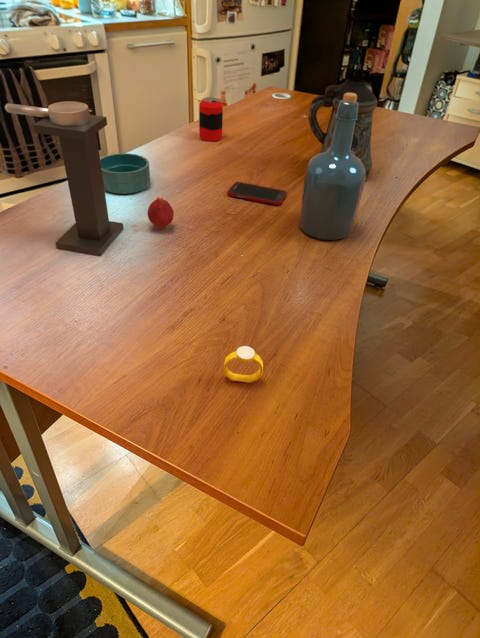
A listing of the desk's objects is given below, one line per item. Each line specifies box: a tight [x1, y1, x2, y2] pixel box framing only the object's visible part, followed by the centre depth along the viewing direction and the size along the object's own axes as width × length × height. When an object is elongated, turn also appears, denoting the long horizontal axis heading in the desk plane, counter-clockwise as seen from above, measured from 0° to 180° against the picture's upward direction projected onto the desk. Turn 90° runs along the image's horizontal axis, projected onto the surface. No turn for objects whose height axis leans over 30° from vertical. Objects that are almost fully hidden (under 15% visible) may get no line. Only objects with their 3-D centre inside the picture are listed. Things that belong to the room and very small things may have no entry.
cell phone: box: [226, 181, 288, 206], centre depth 122 cm, size 8×15×1 cm, turn 71°
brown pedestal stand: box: [32, 114, 124, 257], centre depth 93 cm, size 10×12×25 cm
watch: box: [223, 345, 264, 384], centre depth 70 cm, size 6×3×6 cm, turn 87°
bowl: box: [100, 152, 151, 195], centre depth 121 cm, size 13×13×6 cm
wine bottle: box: [298, 93, 367, 241], centre depth 101 cm, size 14×13×30 cm
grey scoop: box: [4, 100, 91, 127], centre depth 85 cm, size 16×7×2 cm, turn 78°
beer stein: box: [307, 77, 378, 178], centre depth 129 cm, size 16×19×25 cm
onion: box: [146, 194, 175, 229], centre depth 104 cm, size 6×6×8 cm
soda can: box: [198, 96, 224, 143], centre depth 150 cm, size 8×8×12 cm
